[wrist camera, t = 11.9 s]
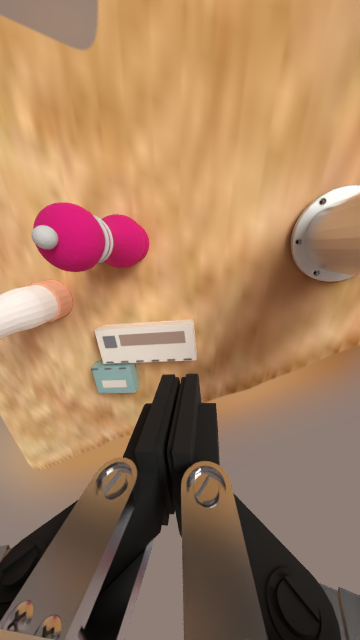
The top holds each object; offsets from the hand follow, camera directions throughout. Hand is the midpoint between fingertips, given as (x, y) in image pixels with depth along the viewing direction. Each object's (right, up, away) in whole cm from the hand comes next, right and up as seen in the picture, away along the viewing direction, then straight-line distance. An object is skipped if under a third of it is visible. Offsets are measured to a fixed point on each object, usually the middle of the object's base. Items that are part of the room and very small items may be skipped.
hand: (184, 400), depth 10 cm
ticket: (-6, 0, +30) cm, 30 cm away
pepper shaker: (-24, +8, +30) cm, 39 cm away
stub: (-13, -7, +33) cm, 37 cm away
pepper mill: (-8, +17, +25) cm, 31 cm away
